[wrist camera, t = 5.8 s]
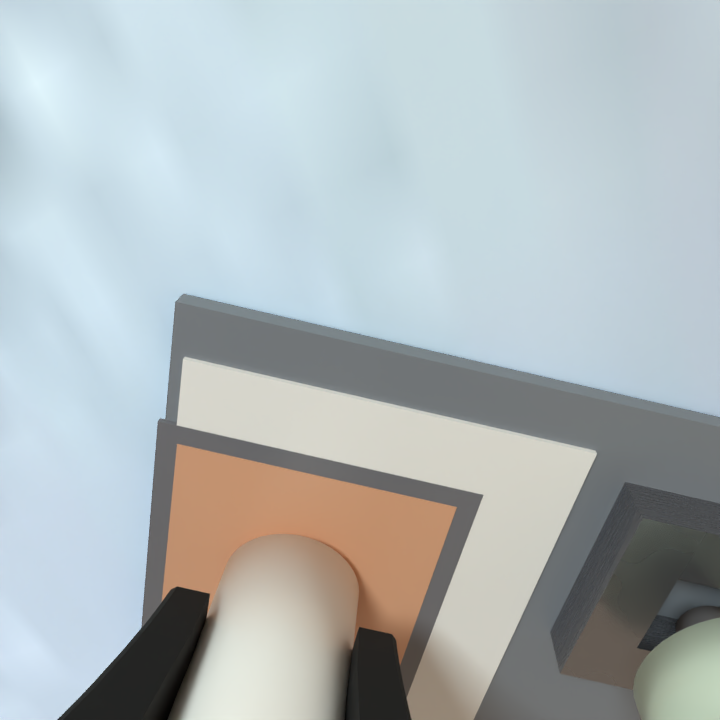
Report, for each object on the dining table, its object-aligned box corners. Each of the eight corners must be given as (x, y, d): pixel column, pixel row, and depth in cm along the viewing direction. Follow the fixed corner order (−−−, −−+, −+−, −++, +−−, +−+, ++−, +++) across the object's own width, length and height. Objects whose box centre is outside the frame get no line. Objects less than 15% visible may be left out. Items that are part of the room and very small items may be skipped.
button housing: (732, 672, 13) (756, 717, 12) (549, 631, 13) (560, 673, 12) (835, 529, 11) (871, 569, 10) (625, 482, 11) (642, 517, 10)
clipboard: (586, 881, 18) (590, 904, 17) (135, 784, 17) (127, 804, 17) (894, 457, 11) (916, 474, 11) (177, 292, 11) (166, 303, 10)
